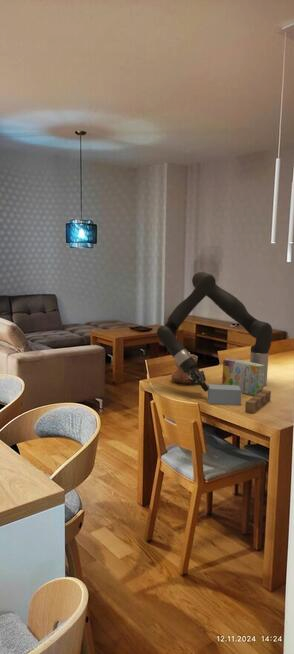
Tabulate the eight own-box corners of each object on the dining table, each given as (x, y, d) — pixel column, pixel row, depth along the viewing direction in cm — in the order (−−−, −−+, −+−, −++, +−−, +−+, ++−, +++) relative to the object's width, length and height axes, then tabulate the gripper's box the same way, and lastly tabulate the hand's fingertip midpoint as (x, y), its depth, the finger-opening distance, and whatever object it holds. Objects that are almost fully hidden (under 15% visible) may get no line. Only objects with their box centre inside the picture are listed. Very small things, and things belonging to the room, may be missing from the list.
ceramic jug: (175, 377, 259) (176, 351, 257) (202, 379, 255) (202, 353, 252) (167, 386, 242) (167, 358, 240) (195, 388, 238) (196, 361, 236)
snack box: (263, 395, 230) (265, 364, 228) (256, 397, 226) (259, 366, 224) (227, 385, 245) (229, 357, 243) (220, 387, 241) (222, 358, 239)
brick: (207, 398, 221) (208, 384, 220) (237, 400, 220) (238, 385, 219) (209, 404, 213) (209, 388, 212) (240, 405, 212) (241, 390, 211)
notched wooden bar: (262, 399, 223) (263, 389, 222) (270, 400, 221) (270, 391, 220) (245, 412, 202) (245, 402, 202) (252, 413, 201) (253, 403, 200)
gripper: (183, 358, 218) (206, 389, 213) (196, 354, 229) (218, 383, 225) (173, 368, 222) (195, 398, 217) (186, 363, 233) (207, 391, 228)
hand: (207, 390), depth 221 cm, fingers closed
